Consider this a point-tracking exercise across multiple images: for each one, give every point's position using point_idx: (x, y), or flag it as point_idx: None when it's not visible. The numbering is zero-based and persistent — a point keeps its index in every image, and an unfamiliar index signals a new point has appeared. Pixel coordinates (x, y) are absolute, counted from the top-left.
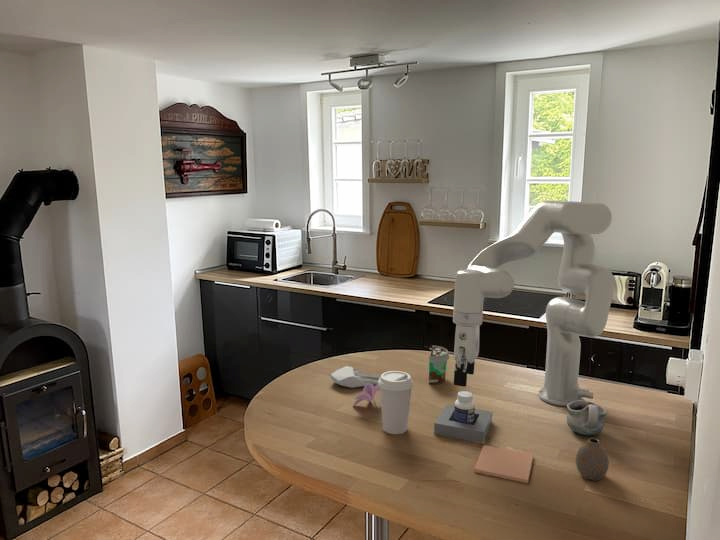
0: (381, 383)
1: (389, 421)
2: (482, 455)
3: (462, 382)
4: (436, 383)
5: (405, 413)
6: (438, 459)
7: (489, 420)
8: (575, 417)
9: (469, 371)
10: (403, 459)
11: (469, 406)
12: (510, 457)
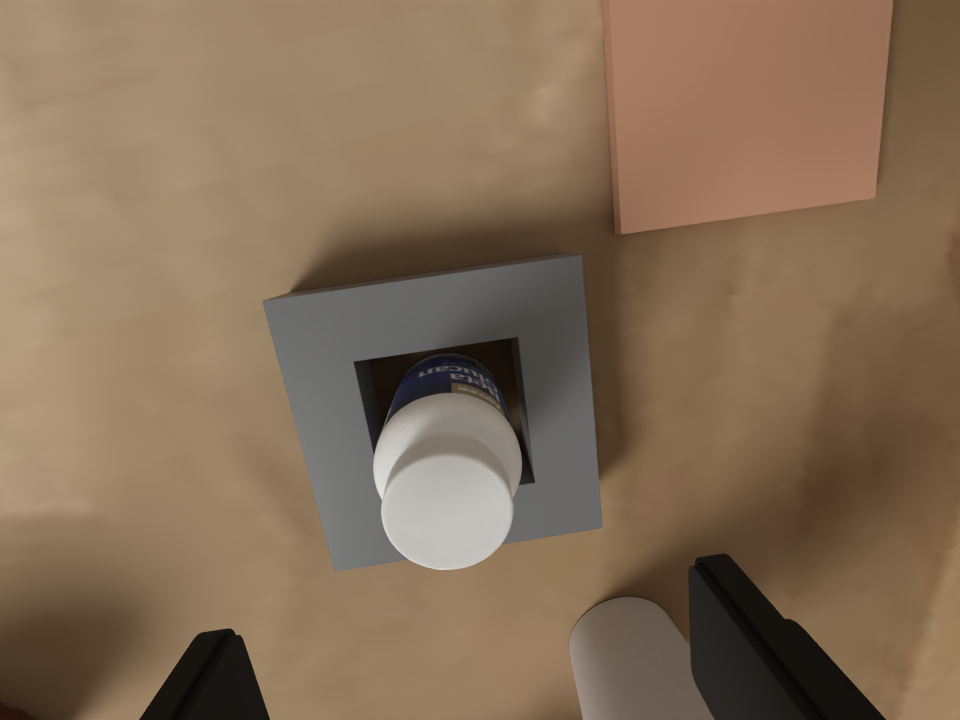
0: None
1: None
2: (733, 203)
3: (795, 626)
4: (22, 716)
5: (694, 682)
6: (804, 383)
7: (380, 283)
8: None
9: (233, 701)
10: (852, 501)
11: (496, 420)
12: (695, 47)
